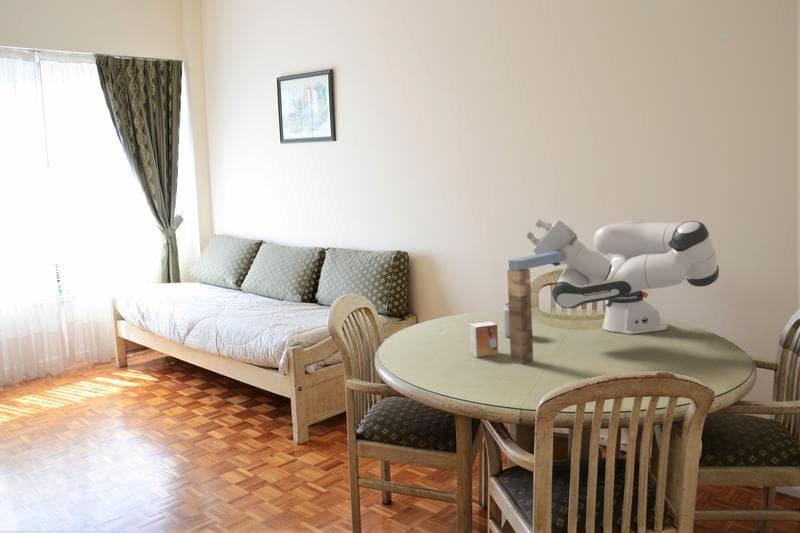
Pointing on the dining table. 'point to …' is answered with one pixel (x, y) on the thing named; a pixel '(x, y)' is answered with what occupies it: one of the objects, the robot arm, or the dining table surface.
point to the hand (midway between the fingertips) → (532, 228)
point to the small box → (484, 339)
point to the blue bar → (536, 260)
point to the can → (506, 320)
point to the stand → (520, 316)
